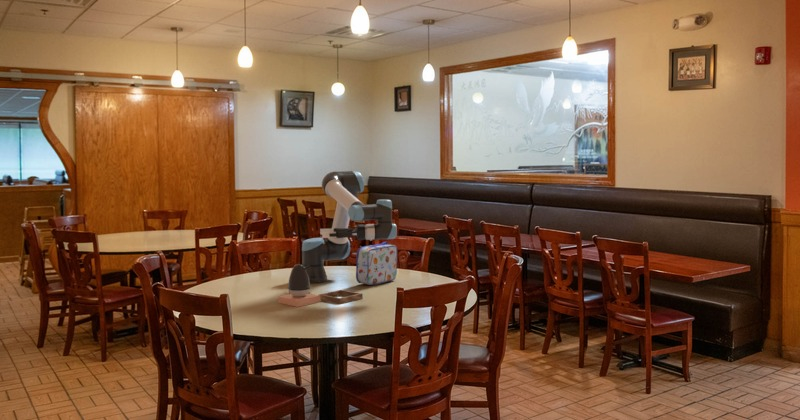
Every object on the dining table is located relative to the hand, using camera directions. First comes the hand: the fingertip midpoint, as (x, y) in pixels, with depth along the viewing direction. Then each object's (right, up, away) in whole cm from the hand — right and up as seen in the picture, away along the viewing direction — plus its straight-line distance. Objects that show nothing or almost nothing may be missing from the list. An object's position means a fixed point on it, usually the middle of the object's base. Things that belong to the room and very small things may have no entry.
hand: (321, 233), depth 325 cm
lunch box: (+26, -28, +41) cm, 56 cm away
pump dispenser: (-9, -29, -7) cm, 32 cm away
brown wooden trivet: (+9, -32, -1) cm, 33 cm away
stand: (-9, -32, -7) cm, 34 cm away
